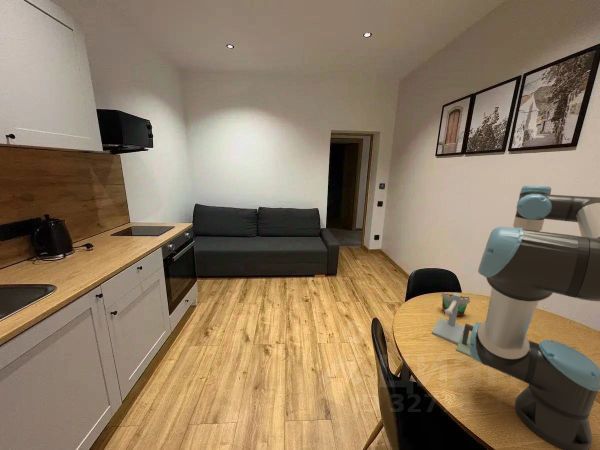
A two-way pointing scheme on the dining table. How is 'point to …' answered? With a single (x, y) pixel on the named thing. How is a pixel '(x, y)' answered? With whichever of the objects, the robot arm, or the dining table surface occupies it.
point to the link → (466, 333)
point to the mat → (464, 347)
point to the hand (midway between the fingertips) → (513, 284)
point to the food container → (461, 307)
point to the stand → (450, 323)
